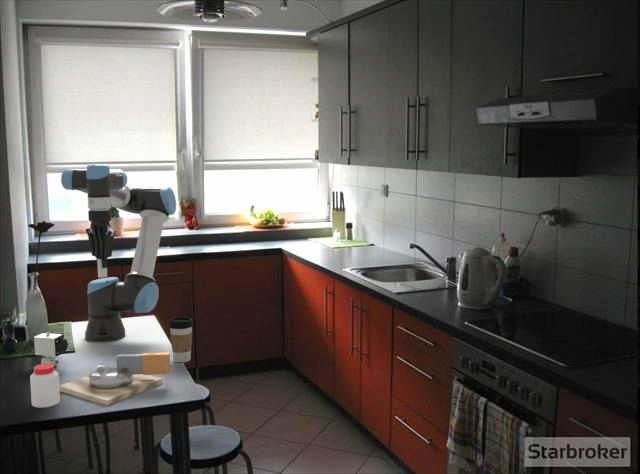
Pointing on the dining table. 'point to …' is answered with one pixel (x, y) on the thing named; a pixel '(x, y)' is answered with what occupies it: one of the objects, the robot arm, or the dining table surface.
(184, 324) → the coffee cup
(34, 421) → the dining table surface
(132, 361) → the silver saucepan
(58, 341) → the pneumatic valve
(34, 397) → the pill bottle
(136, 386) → the light wood square board
